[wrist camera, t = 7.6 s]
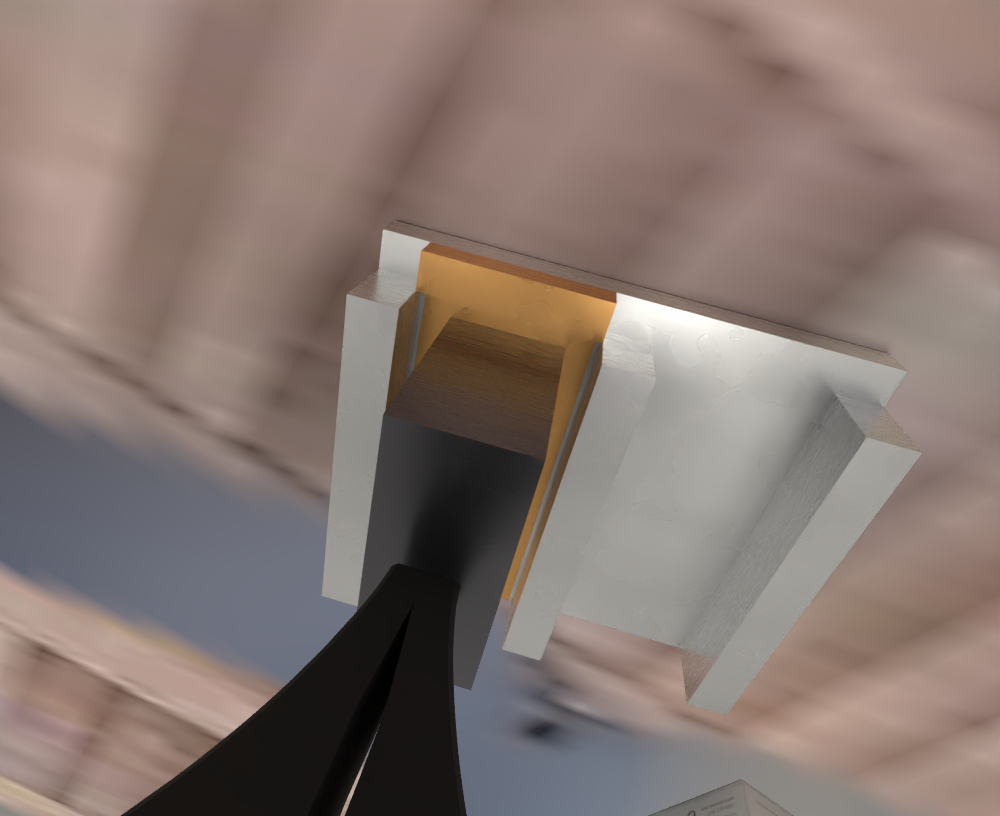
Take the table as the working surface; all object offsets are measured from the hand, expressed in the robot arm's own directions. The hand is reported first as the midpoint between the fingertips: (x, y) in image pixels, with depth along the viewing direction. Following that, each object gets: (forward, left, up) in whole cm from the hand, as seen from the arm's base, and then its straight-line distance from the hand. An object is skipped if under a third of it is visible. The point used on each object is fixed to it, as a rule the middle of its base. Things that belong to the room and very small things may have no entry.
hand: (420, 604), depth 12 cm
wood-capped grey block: (0, 0, -6) cm, 6 cm away
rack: (-3, 0, -7) cm, 7 cm away
